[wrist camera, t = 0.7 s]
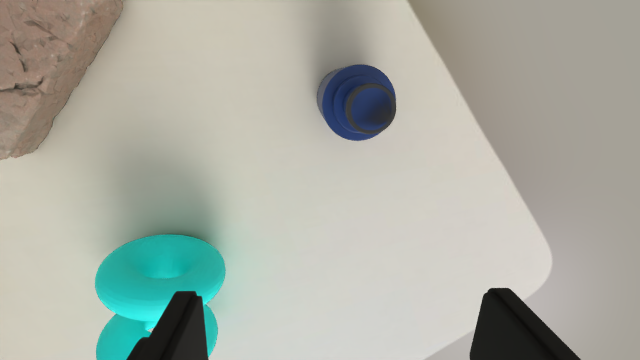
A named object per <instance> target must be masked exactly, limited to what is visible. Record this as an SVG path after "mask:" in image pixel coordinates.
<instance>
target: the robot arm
mask: <svg viewBox="0 0 640 360" xmlns="http://www.w3.org/2000/svg"><path fill="white" fill-rule="evenodd" d="M126 360H208V351H207V340H206V330H205V320H204V309H203V299H202V296H197V293H196V291H176V292H175V293H174V295H173V297H172V298H171V300H170V302H169V304H168V305H167V307H166V309H165V310H164V312H163V314H162V316H161V317H160V319H159V321H158V322H157V324H156V326H155V328H154V329H153V331H152V333H151V334H150V336H149V337H142V338H141V339H139V341H138V342H137V343H136V345H135V346H134V348H133V350H132V351H131V353H130V354H129V356H128V358H127V359H126ZM470 360H580V358H579V357H578V356H577V355H576V354H575V353H574V352H573V351H572V350H571V349H570V348H569V347H568V346H567V345H566V344H565V343H564V342H562V340H561V339H560V338H559V337H558V336H557V335H556V334H555V333H554V332H553V331H552V330H551V329H550V328H549V327H548V326H546V324H545V323H544V322H542V320H541V319H540V318H539V317H538V316H537V315H536V314H535V313H534V312H533V311H532V310H531V309H530V308H529V307H528V306H527V305H526V304H525V303H524V302H523V301H522V300H521V299H520V298H519V297H518V296H517V295H516V294H515V293H514V292H513V291H512V290H510V289H509V288H491V289H489V290H488V292H487V293H485V294H484V296H483V299H482V303H481V308H480V312H479V316H478V321H477V325H476V329H475V334H474V338H473V342H472V346H471V351H470Z"/></svg>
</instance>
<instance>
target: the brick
mask: <svg viewBox="0 0 640 360" xmlns="http://www.w3.org/2000/svg"><path fill="white" fill-rule="evenodd" d="M122 9H123V4H122V1H121V0H0V160H2V159H7V158H9V157H10V156H11V157H14V158H18V157H20V156H23V155H25V154H28V153H31V152H33V151H34V150H35V149H37V148H38V146H39V144H40V143H41V142H42V141H43V140H44V139H45V137H46V136H47V134H48V132H49V130H50V128H51V127H52V121H53V117H55V116H56V115H57V114H58V113H59V112H60V110H61V109H62V108H63V107H64V105H65V104H66V101H67V99H69V96H70V93H71V91H72V90H73V89H74V88H75V87H77V85H78V83H79V81H80V79H81V78H82V76H83V75H84V73H85V71H86V67H87V66H89V65H90V64H91V63H92V61H93V60H94V58H95V56H96V54H97V52H98V50H99V49H100V48H101V47H102V45H103V43H104V41H105V40H106V38H107V37H108V35H109V33H110V31H111V28H112V27H113V25H114V23H115V21H116V20H117V19H118V18H119V16H120V13H121V11H122Z"/></svg>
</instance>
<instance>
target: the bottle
mask: <svg viewBox="0 0 640 360" xmlns="http://www.w3.org/2000/svg"><path fill="white" fill-rule="evenodd" d="M317 104H318V108H319V110H320V112H321V114H322V116H323V117H324V119H325V121H326V122H327V124H328V125H329V127H330V128H331V129H332V130H333V131H334V132H335V133H336V134H338V135H339V136H341V137H343V138H345V139H348V140H354V141H361V140H367V139H370V138H372V137H374V136H376V135H378V134H379V133H380V132H382V131H383V130H385V129H386V128H387V127H388V126H389V125H390V124H391V122H392V121H393V119H394V117H395V113H396V98H395V92H394V88H393V86H392V84H391V82H390V80H389V79H388V77H387V76H386V75H385V74H384V73H383V72H381V71H380V70H378V69H377V68H374V67H372V66H368V65H352V66H348V67H344V68H340V69H337V70H334V71H332V72H331V73H329V74H328V75H327V76H326V77H325V78H324V79H323V81H322V82H321V84H320V86H319V89H318V93H317Z"/></svg>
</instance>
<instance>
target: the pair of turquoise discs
mask: <svg viewBox="0 0 640 360" xmlns="http://www.w3.org/2000/svg"><path fill="white" fill-rule="evenodd" d="M162 278H163V279H162ZM224 278H225V263H224V260H223V258H222V256H221V254H220V253H219V252H218V251H217V250H216V249H215V248H214V247H213V246H212V245H210V244H209V243H207V242H205V241H203V240H201V239H198V238H194V237H190V236H185V235H175V234H165V235H154V236H148V237H144V238H140V239H137V240H134V241H131V242H129V243H126V244H124V245H122V246H121V247H119V248H117V249H116V250H115V251H113V252H112V253H111V254H109V255H108V256H107V257H106V258H105V259H104V261H103V262H102V263H101V265H100V267H99V268H98V271H97V274H96V278H95V288H96V292H97V295H98V297H99V299H100V300H101V301H102V303H103V304H104V305H105V306H106V307H107V308H108V309H110V310H111V311H113V312H115V313H116V315H114V316H113V317H112V318H111V319H110V321H109V322H108V323H107V324H106V326H105V327H104V329H103V330H102V332H101V334H100V337H99V339H98V343H97V347H96V358H97V360H126V359H127V358H128V356H129V354H130V353H131V351H132V350H133V348H134V346H135V345H136V343H137V342H138V341H139V339H141V338H142V337H149V336H150V334H151V332H148V331H147V330H149V329H151V328H154V327H155V326H156V324H157V322H158V321H159V319H160V317H161V316H162V314H163V312H164V310H165V309H166V307H167V305H168V304H169V302H170V300H171V298H172V297H173V295H174V293H175V292H176V291H196V293H197V296H202V299H203V309H204V320H205V330H206V340H207V351H208V357H209V356H210V354H211V352H212V351H213V348H214V346H215V344H216V340H217V334H218V327H217V321H216V318H215V316H214V314H213V312H212V311H211V309H210V308H209V307H208V306H207V305H206V303H207V302H209V301H210V300H211V299H212V298H213V297H214V296H215V295H216V294H217V292H218V291H219V289H220V288H221V286H222V284H223V281H224Z"/></svg>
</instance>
